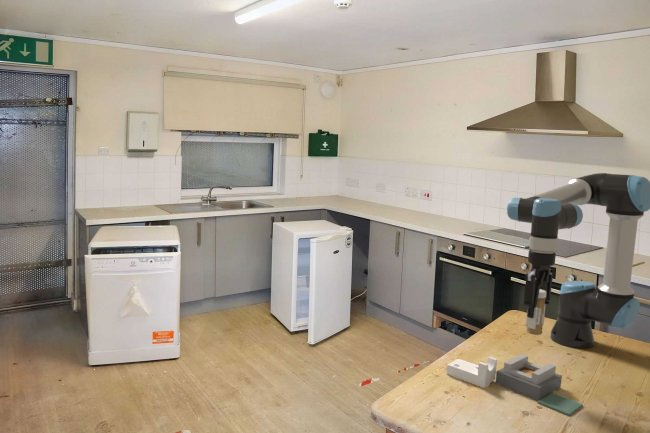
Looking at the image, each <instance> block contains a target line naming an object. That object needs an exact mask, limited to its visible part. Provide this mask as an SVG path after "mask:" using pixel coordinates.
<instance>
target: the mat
mask: <svg viewBox="0 0 650 433" xmlns="http://www.w3.org/2000/svg"><path fill="white" fill-rule="evenodd" d="M537 404H539V405H541V406H544V407H546V408H549V409H550V410H552V411H553V410H554V411H555V412H558V413H560V414H563V415H565V416H567V417H570V416H571V415H572V414H575V412H577V411H578V410H580V409H581V408H582V407H583V406H584V405H583V403H580V402H578V401H575V400H573V399H570V398H568V397H566V396H562V395H560V394H557V393H555V392H553V393H551V394H549V395H548V396H546V397H544V398H543V399H541V400H539V401H537Z"/></svg>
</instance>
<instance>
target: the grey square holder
mask: <svg viewBox="0 0 650 433" xmlns="http://www.w3.org/2000/svg"><path fill="white" fill-rule="evenodd" d="M556 369H557V366H556V365H555V364H552V363H548V364H547V365H544V366H541V365H539V364H535V363H534V362H530V361H529V356H528V355H526V354H523V353H522V354H519V355H518V356H515V357H513V358H511V359H509V360H506V361H504V364H503V367H502V368H500V369H498V370H496V375H495V385H498V386H501V387H503V388H506V389H508V390H510V391H513V392H515V393H518V394H521V395H523V396H525V397H527V398H530V399H532V400H535V401H537V402H538V401H539V400H541V399H543V398H544V397H546V396H548V395H549V394H551V393H555V392H556V391H558V390H560V389H561V386H562V378H563V377H562V376H563V375H562V374H559V373H557V372H556ZM522 370H531V371H534V372H533V373H532V375H529V374H526V373H524V372H521V371H522Z"/></svg>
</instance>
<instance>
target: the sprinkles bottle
mask: <svg viewBox="0 0 650 433" xmlns="http://www.w3.org/2000/svg"><path fill="white" fill-rule="evenodd" d="M545 298H546V291H545V290H542V289H540V290H539V295H538V300H537V305H536V307H537V308H538V309H537V319H536V329H532V328H529V327H526V333H528V334H529V335H535V336H539V335H542V334H543V326H544V325H543V318H544V319H545V316H544V306H545V305H546V304H545Z"/></svg>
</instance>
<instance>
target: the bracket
mask: <svg viewBox="0 0 650 433" xmlns="http://www.w3.org/2000/svg"><path fill="white" fill-rule="evenodd" d="M486 360H487V361H486V363H484V362H481V361H480V362H478V364H475V363H472V362H469V361H466V360H464V359H460V358H457V359H455V360H453V361H451V362H450V363H448V364H447V366H446V375H447V374H449V375H448V376H450V375H451V376H450V377H452V376H454V377H453V378H455V377H456V378H455V379H458V378H459V379H458V380H460V379H462V380H461V381H463V380H464V381H463V382H466V381H467V382H466V383H468V384H471V383H472V385H474V384H475V386H477V387H479V386H480V387H479V388H483V389H486V388H487V387H489V386H490V385H491V383H492V382H493V381H496V372H497V362H498V359H497V358H495V357H492V356H488V357H487V359H486Z"/></svg>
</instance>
